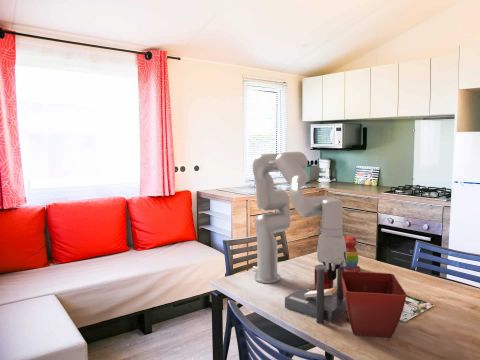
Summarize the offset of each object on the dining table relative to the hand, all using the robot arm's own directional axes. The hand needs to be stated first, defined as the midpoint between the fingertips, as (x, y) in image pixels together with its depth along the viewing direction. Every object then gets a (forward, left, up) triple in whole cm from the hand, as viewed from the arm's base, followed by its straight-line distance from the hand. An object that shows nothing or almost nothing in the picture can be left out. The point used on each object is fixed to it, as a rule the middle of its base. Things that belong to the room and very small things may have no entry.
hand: (331, 279), depth 139 cm
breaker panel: (-7, 0, -14) cm, 15 cm away
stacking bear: (-14, +48, -14) cm, 52 cm away
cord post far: (0, +9, -14) cm, 16 cm away
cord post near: (0, -8, -14) cm, 16 cm away
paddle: (-5, 0, -7) cm, 8 cm away
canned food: (-12, +17, -14) cm, 25 cm away
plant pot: (+15, -1, -14) cm, 21 cm away
